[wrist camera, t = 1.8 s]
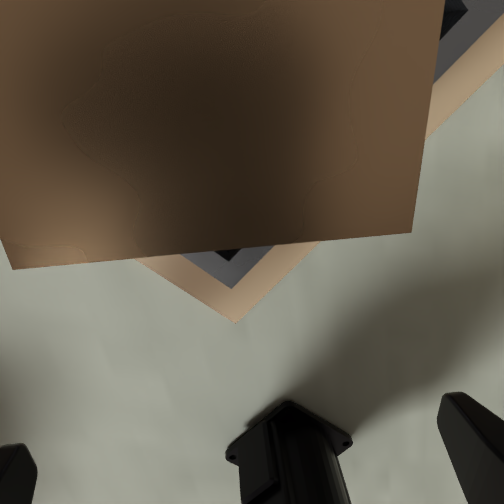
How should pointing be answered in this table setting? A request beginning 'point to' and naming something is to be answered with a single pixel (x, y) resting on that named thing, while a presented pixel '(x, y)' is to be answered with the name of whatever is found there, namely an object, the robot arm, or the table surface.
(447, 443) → the robot arm
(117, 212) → the plunger
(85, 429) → the table surface
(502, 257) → the table surface
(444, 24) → the shallow square tray
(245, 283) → the tan square board
